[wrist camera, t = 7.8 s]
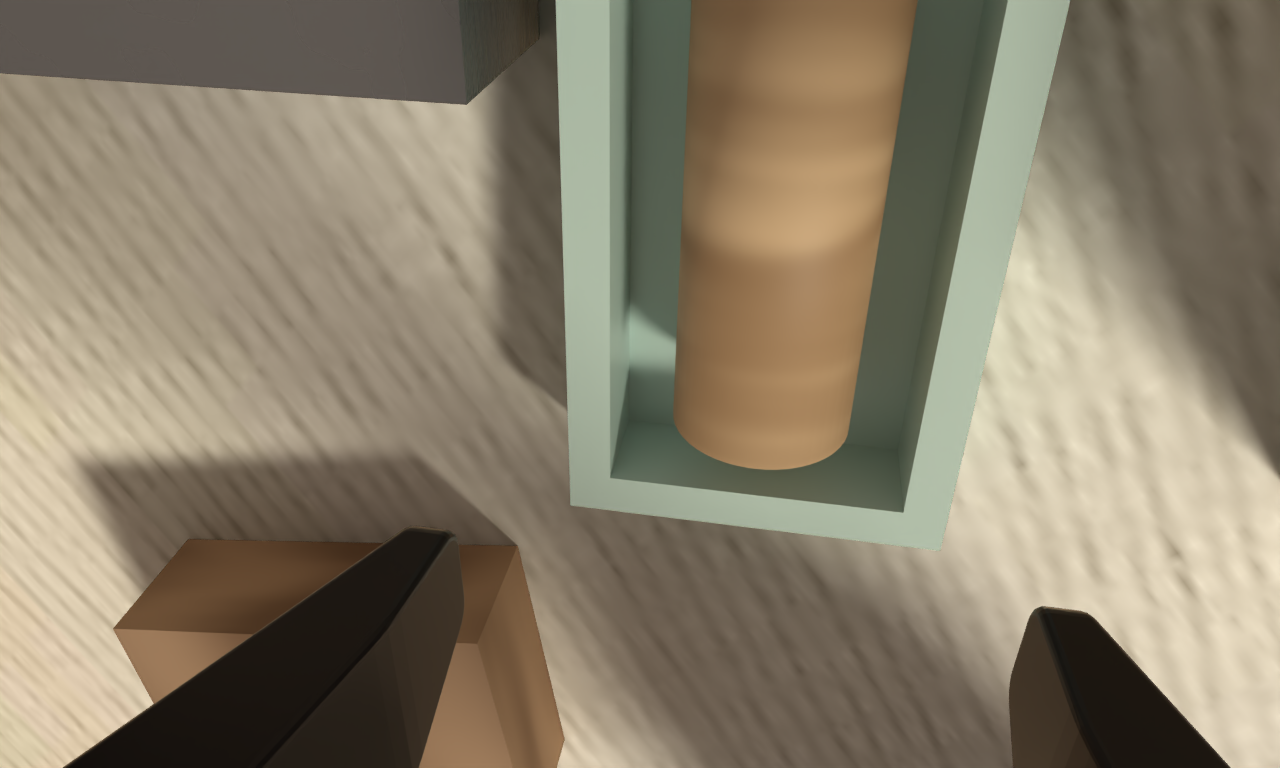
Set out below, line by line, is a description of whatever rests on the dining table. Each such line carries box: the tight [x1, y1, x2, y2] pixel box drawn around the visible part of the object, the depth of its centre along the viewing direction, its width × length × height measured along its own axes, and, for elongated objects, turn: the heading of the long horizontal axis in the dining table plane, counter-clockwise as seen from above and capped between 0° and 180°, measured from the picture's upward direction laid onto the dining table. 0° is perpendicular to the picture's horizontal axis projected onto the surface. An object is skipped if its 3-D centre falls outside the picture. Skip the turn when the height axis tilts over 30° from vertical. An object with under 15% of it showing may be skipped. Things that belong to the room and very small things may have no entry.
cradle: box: [556, 0, 1070, 551], centre depth 17 cm, size 7×13×2 cm, turn 179°
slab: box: [113, 539, 565, 768], centre depth 25 cm, size 9×7×4 cm
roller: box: [673, 0, 918, 470], centre depth 16 cm, size 8×3×3 cm, turn 179°
